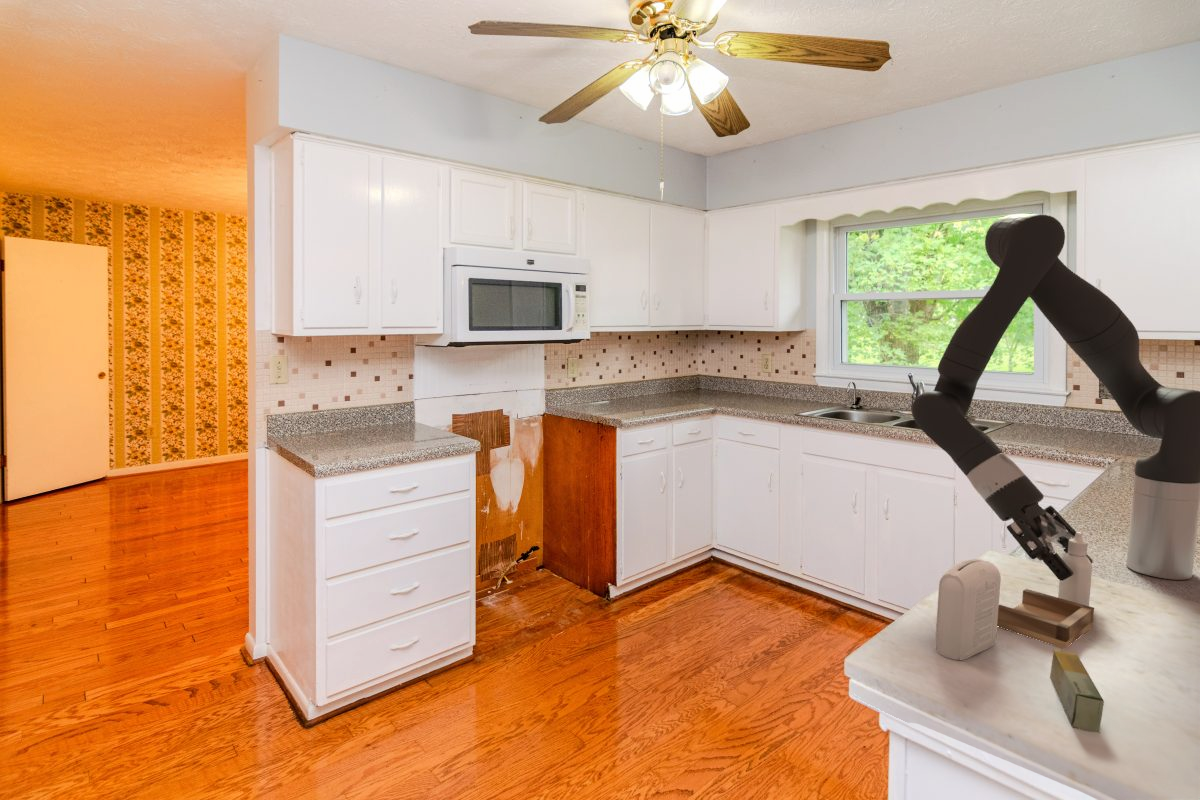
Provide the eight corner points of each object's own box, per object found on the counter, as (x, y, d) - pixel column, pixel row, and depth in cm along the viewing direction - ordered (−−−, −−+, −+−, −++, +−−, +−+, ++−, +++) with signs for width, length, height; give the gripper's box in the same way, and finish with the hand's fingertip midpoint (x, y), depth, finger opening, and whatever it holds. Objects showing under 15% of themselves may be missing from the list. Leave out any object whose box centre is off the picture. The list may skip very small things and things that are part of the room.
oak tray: (1024, 607, 106) (1026, 588, 105) (1092, 627, 98) (1094, 607, 98) (994, 626, 99) (996, 606, 99) (1065, 649, 92) (1066, 628, 91)
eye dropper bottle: (1092, 604, 107) (1098, 531, 105) (1087, 615, 102) (1093, 539, 101) (1059, 597, 110) (1065, 525, 108) (1053, 607, 105) (1059, 533, 104)
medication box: (1101, 735, 73) (1105, 701, 72) (1071, 729, 74) (1075, 695, 73) (1073, 682, 84) (1077, 652, 83) (1048, 677, 85) (1051, 647, 84)
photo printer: (969, 633, 97) (975, 550, 95) (1000, 644, 93) (1006, 558, 92) (929, 652, 91) (934, 564, 90) (961, 665, 88) (966, 574, 86)
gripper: (1004, 479, 106) (1083, 570, 98) (1039, 468, 115) (1114, 550, 107) (967, 505, 111) (1039, 593, 103) (1003, 492, 120) (1073, 573, 112)
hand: (1077, 571), depth 105 cm, fingers open, 8 cm apart
